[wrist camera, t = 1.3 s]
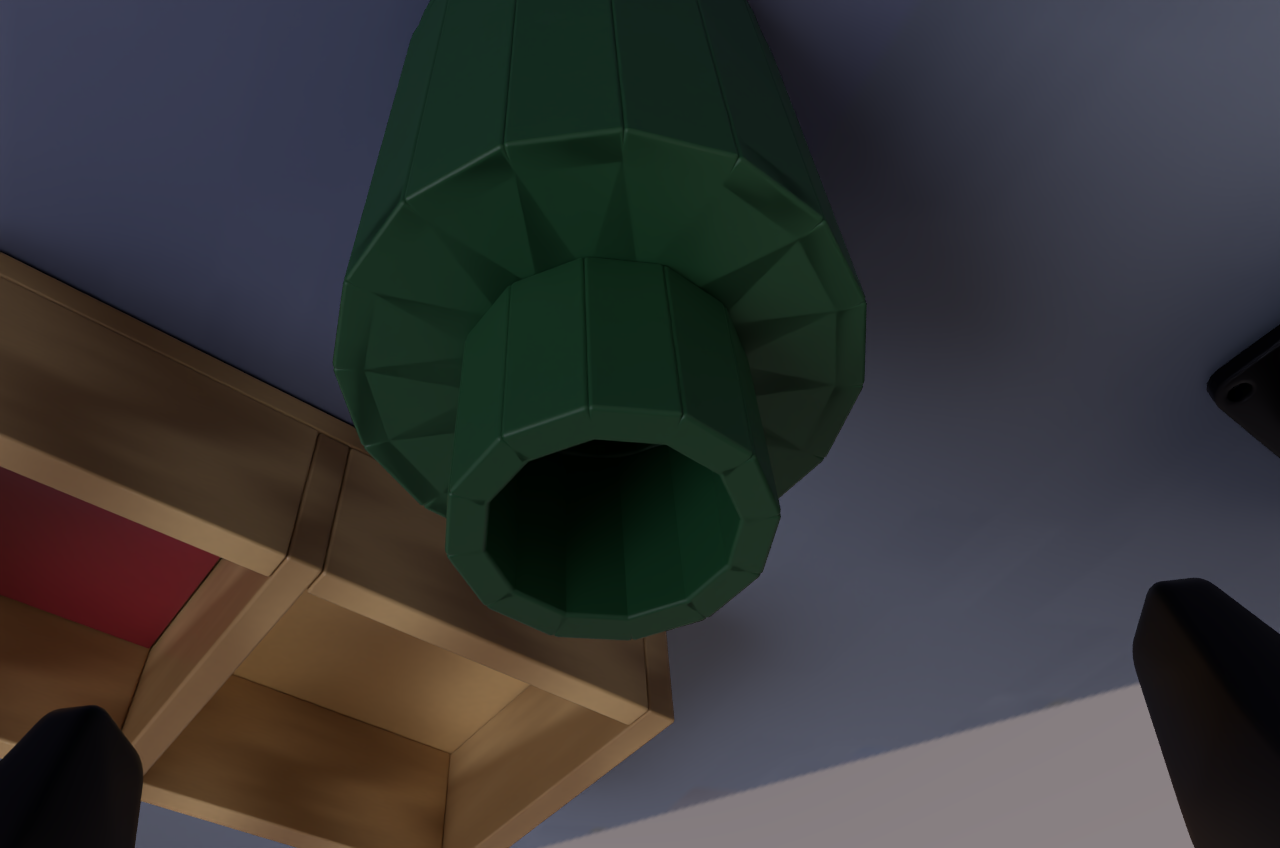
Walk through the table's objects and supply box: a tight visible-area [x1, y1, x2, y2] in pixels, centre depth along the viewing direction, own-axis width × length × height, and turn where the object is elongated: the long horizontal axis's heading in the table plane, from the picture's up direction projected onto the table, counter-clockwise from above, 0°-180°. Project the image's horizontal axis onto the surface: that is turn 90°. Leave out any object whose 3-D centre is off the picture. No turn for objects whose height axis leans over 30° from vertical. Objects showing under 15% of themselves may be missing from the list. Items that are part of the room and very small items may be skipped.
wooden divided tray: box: [0, 252, 674, 848], centre depth 23 cm, size 17×9×4 cm, turn 52°
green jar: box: [333, 0, 867, 641], centre depth 14 cm, size 6×6×10 cm
